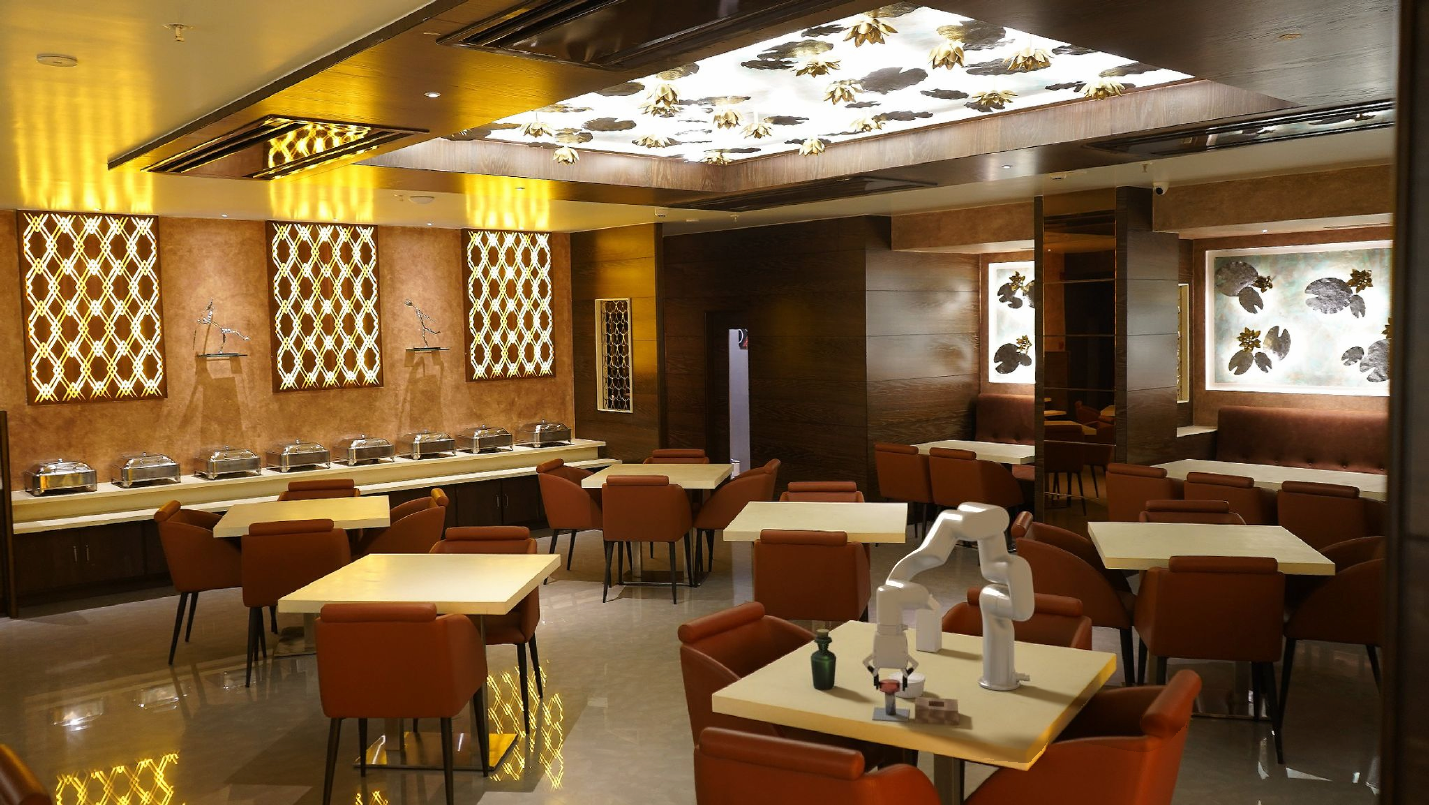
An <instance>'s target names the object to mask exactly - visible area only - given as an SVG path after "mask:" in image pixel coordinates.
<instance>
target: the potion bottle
mask: <svg viewBox="0 0 1429 805" xmlns="http://www.w3.org/2000/svg"><path fill="white" fill-rule="evenodd" d="M816 633H817V636H815V637H814V640H813V642H814V643H815V644H817V648H818V650H816V651H813V652H812V653H811V655H810V658H809V659H810V664H811V676H812V686H813V687H814V688H815V689H816V690H819V691H827V690H831V689H833V688H835V680H836V669H837V668H836V666H837V656H836V654H835V653H834V652H832V651H831V650H830V649H829V645H830V644H831V643H833V639H832V637H831V636H829V633H830V630H829V629H826V628H824V629H823V628H820V629H817V630H816Z"/></svg>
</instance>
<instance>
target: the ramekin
mask: <svg viewBox="0 0 1429 805" xmlns="http://www.w3.org/2000/svg"><path fill="white" fill-rule="evenodd" d="M902 677H903V673H902V671H896V672H892V673H891V674H890V675H888V679H894V680H898V681H900V691H899V692H896V693H895V697H898V698H903V699H914V698H915V699H916V697H921V696H922V695H923V693H924V688H925V682H926V677H925V675H923V674H922V673H918V672H916V671H915V672H914V671H913V672H912V673H911V674H910V675H909V676H908V688H905V691H902Z"/></svg>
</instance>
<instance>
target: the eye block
mask: <svg viewBox="0 0 1429 805" xmlns="http://www.w3.org/2000/svg"><path fill="white" fill-rule="evenodd" d="M914 702H915V703H914V723H917V724H918V723H919V724H936V725H938V724H939V725H952V726H959V699H957V698H940V697H939V698H938V697H924V696H923V697H921V696H919V697H916V698H915V701H914Z"/></svg>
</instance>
